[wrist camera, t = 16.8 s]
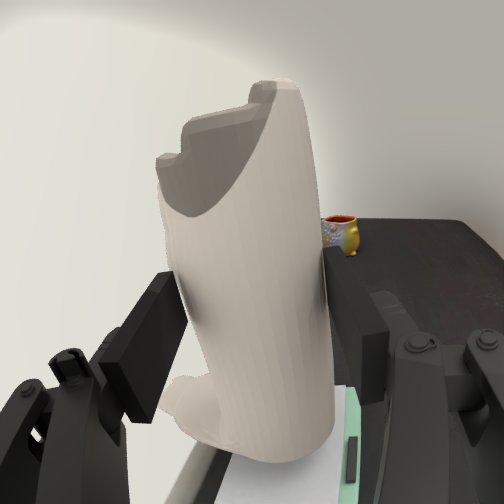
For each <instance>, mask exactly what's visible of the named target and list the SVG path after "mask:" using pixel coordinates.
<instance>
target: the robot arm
mask: <svg viewBox="0 0 504 504" xmlns="http://www.w3.org/2000/svg"><path fill="white" fill-rule="evenodd" d="M322 251H323V261H324V271H325V282H326V293H327V303H328V306H329V309H330V312H331V315H332V318H333V321H334V324H335V327H336V330H337V333H338V336H339V339H340V342H341V345H342V349H343V352H344V355H345V358H346V361H347V364H348V368H349V371H350V374H351V377H352V381H353V384H354V387H355V391H356V394H357V397H358V401H359V404H360V406H362V405H367V404H372V403H376V402H380V401H384V393H385V390H386V393H387V395H388V398H389V402H388V409H387V415H386V421H385V424H386V427H385V436H384V443H383V450H382V457H381V463H380V469H379V475H378V481H377V486H376V491H375V496H374V501H373V504H449V497H450V428H449V412H451V415H452V417H453V420H454V423H455V425H456V428H457V431H458V434H459V436H460V439H461V442H462V445H463V448H464V451H465V454H466V457H467V460H468V463H469V466H470V470H471V473H472V476H473V479H474V483H475V486H476V490H477V493H478V497H479V501H480V504H504V336H503V335H502V334H501V333H500V332H498V331H495V330H493V329H487V328H485V329H477V330H475V331H473V332H471V333H470V334H469V335H468V338H467V341H466V344H460V345H442V344H440V342H439V340H438V339H437V338H436V337H435V336H434V335H432V334H429V333H426V332H421V331H420V329H419V328H418V326H417V325H416V324H415V322H414V321H413V319H412V318H411V316H410V315H409V313H408V312H407V311H406V309H405V308H404V306H403V305H402V304H401V302H400V301H399V299H398V298H397V297H396V296H395V295H393V294H392V293H390V292H388V291H386V290H385V291H380V292H374V293H368V292H367V290H366V288H365V286H364V285H363V283H362V282H361V280H360V278H359V277H358V275H357V273H356V272H355V270H354V268H353V267H352V265H351V263H350V262H349V260H348V259H347V257H346V255H345V254H344V252H343V251H342V249H341V248H340V246H339V245H338V246H332V247H325V248H322ZM187 323H188V319H187V316H186V313H185V310H184V306H183V303H182V300H181V297H180V293H179V290H178V286H177V283H176V280H175V276H174V273H173V271H168V272H161V273H158V274H157V275H156V276H155V278H154V279H153V281H152V282H151V283H150V285H149V286H148V288H147V289H146V291H145V292H144V293H143V295H142V296H141V298H140V299H139V301H138V302H137V304H136V305H135V307H134V308H133V310H132V311H131V312H130V314H129V315H128V317H127V318H126V320H125V321H124V323H123V324H122V326H121V327H116V328H115V329H114V330H112V331H111V332H110V333H109V334H108V335H107V336H106V337H105V339H104V340H103V342H102V344H101V345H100V346H99V348H98V350H97V351H96V352H95V354H94V355H93V357H92V358H91V360H90V361H89V363H88V361H87V359H86V358H85V356H84V354H83V352H82V351H81V350H80V349H77V348H70V349H66V350H63V351H61V352H60V353H58V354H56V355H55V356H54V357H53V358H52V359H51V360H50V362H49V363H48V364H49V366H50V368H51V370H52V371H53V373H54V375H55V376H56V378H57V380H58V382H59V383H60V385H59V387H55V388H50V389H46V388H45V387H44V385H43V384H42V382H41V381H40V380H39V379H29V380H26V381H24V382H22V384H20V385H19V386H18V387H17V388H16V389H15V391H14V392H13V394H12V395H11V397H10V398H9V400H8V401H7V403H6V404H5V406H4V407H3V409H2V411H1V412H0V504H130V498H129V486H128V470H127V450H126V449H127V448H126V428H125V425H124V424H123V422H122V421H121V419H122V417H123V415H124V412H125V413H126V414H127V416H128V418H129V419H130V421H131V422H132V423H146V424H151V422H152V420H153V417H154V414H155V411H156V408H157V405H158V403H159V400H160V397H161V394H162V391H163V389H164V385H165V383H166V380H167V377H168V375H169V371H170V369H171V366H172V364H173V361H174V358H175V355H176V352H177V350H178V347H179V345H180V342H181V339H182V337H183V334H184V331H185V329H186V326H187ZM33 427H34V428H35V430H36V431H37V432H38V433H39V435H40V436H41V437H42V438H41V440H40V441H39V442H37V441H36V440H35V439H34V437H33V436H32V435H31V434H30V433H31V431H32V429H33Z"/></svg>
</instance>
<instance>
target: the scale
mask: <svg viewBox="0 0 504 504" xmlns="http://www.w3.org/2000/svg"><path fill="white" fill-rule="evenodd" d="M334 392H335V424H334V428H333V430H332V432H331V435H330V436H329V438H328V439H327V440H326V442H325V443H324V444H323V445H322V446H321V447H320V448H318V449H317V450H316V451H314V452H313V453H311V454H309V455H307V456H305V457H303V458H301V459H298V460H295V461H290V462H285V463H266V462H261V461H257V460H254V459H251V458H249V457H246V456H243V455H240V454H236V453H233V454H232V457H231V460H230V462H229V465H228V468H227V471H226V473H225V476H224V479H223V481H222V484H221V487H220V489H219V492H218V495H217V497H216V500H215V502H214V504H358V494H359V477H360V451H361V406H360V404H359V401H358V397H357V394H356V391H355V387H349V388H346V385H340V386H334Z"/></svg>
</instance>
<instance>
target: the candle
mask: <svg viewBox="0 0 504 504" xmlns="http://www.w3.org/2000/svg"><path fill="white" fill-rule="evenodd" d="M156 171H157V175H158V179H159V183H158V200H159V206H160V211H161V216H162V221H163V225H164V229H165V241H166V254H167V262H168V266H169V270H170V271H173V273H174V276H175V280H176V282H177V285H178V288H179V290H180V292H181V294H182V297H183V300H184V303H185V306H186V309H187V312H188V315H189V317H190V320H191V323H192V325H193V328H194V330H195V333H196V335H197V338H198V341H199V343H200V346H201V348H202V351H203V354H204V357H205V360H206V363H207V366H208V369H209V372H210V373H209V374H205V375H202V376H200V377H191V376H180V377H176V378H174V379H173V380H172V381H173V382H172V384H171V385H170V386H169V387H167V388H166V389H165V390H164V392H163V393H162V394H161V397H160V400H159V403H158V408H159V409H161V410H163V411H165V412H166V413H168V414H170V415H172V416H173V417H174V420H175V422H176V423H177V425H178V426H179V427H180V429H181V430H182V431H183V432H185V433H186V434H188V435H189V436H191V437H192V438H194V439H195V440H197V441H199V442H202V443H204V444H207V445H210V446H213V447H216V448H219V449H222V450H225V451H229V452H233V453H236V454H240V455H243V456H246V457H249V458H251V459H254V460H257V461H261V462H266V463H285V462H290V461H295V460H298V459H301V458H303V457H305V456H307V455H309V454H311V453H313V452H314V451H316V450H317V449H318V448H320V447H321V446H322V445H323V444H324V443H325V442H326V440H327V439H328V438H329V436H330V435H331V432H332V430H333V428H334V424H335V392H334V364H333V351H332V340H331V331H330V322H329V313H328V303H327V293H326V282H325V271H324V261H323V251H322V248H323V244H322V231H321V219H320V209H319V198H318V189H317V181H316V173H315V166H314V159H313V152H312V146H311V140H310V134H309V128H308V122H307V116H306V112H305V108H304V103H303V100H302V97H301V94H300V91H299V88H298V87H297V85H296V84H295V83H294V82H293V80H291V79H286V78H274V79H271V80H270V81H259V82H257V83H255V84H254V85H253V86H252V87H251V90H250V93H249V99H248V104H246V105H244V106H242V107H237V108H233V109H228V110H223V111H219V112H214V113H210V114H205V115H201V116H197V117H194V118H192V119H190V120H189V121H188V122H187V123H186V124H185V125H184V126H183V130H182V134H181V153H179V154H174V153H165V154H163V155H161V156H160V157H158V158H156Z"/></svg>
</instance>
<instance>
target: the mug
mask: <svg viewBox="0 0 504 504" xmlns="http://www.w3.org/2000/svg"><path fill="white" fill-rule="evenodd" d="M321 231H322V244H323V248H325V247H332V246H338V245H339V246H340V248H341V249H342V251H343V252H344V254H345V255H346V256H349V255H352V256H353V255H356V251H357V249H358V248H359V245H360V237H359V232H358V228H357V218H356V217H354V216H338V215H335V216H330V217H327V218H325V219H323V220H321Z"/></svg>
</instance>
